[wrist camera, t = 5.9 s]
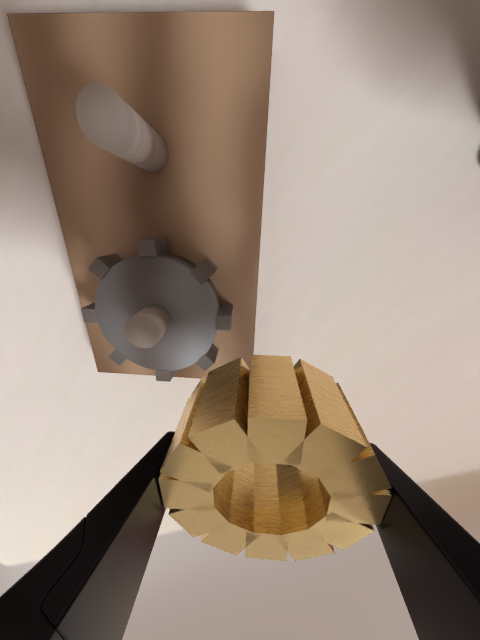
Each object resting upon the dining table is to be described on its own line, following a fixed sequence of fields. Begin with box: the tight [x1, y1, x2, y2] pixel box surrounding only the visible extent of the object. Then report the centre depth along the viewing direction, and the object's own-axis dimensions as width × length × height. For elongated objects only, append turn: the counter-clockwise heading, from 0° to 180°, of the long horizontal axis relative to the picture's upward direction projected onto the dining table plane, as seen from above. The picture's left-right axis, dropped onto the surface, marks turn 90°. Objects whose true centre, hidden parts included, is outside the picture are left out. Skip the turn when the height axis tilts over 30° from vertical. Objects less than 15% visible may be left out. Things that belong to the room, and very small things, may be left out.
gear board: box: [7, 11, 274, 382], centre depth 14 cm, size 13×21×6 cm, turn 178°
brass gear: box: [158, 355, 392, 561], centre depth 8 cm, size 7×7×3 cm
